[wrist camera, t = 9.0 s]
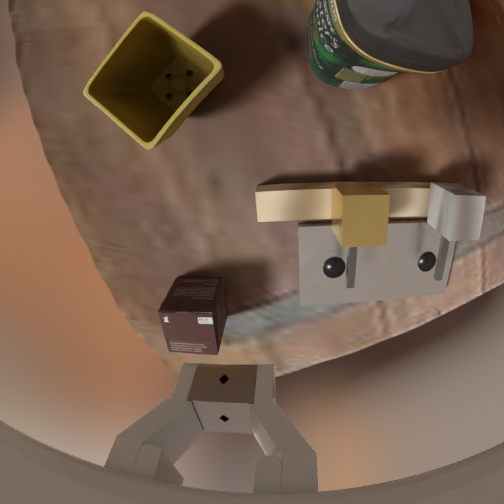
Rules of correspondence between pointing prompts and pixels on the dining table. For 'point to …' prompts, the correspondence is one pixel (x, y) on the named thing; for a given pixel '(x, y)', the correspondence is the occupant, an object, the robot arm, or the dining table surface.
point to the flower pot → (153, 80)
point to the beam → (401, 205)
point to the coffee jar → (386, 39)
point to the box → (194, 315)
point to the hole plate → (370, 265)
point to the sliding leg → (358, 219)
